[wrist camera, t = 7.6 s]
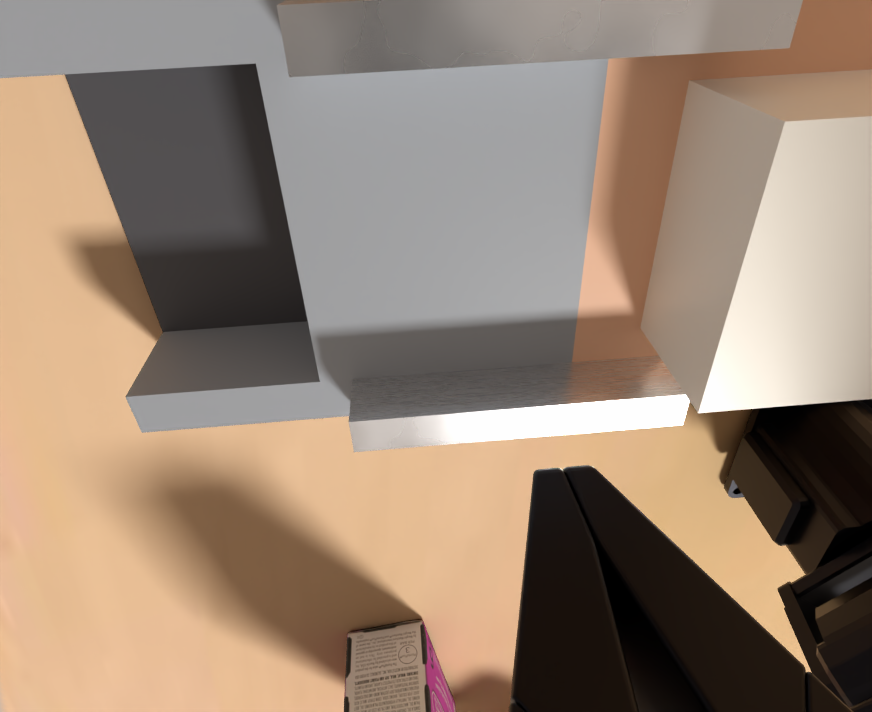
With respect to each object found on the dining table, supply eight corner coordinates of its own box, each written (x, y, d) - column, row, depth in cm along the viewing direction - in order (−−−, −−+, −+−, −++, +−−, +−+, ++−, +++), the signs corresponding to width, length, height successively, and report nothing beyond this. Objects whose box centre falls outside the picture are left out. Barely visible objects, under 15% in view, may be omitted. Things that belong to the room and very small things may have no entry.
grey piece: (858, -55, 16) (982, -56, 12) (740, 317, 23) (800, 379, 19) (38, -13, 15) (-59, -2, 12) (177, 360, 22) (141, 432, 19)
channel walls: (753, -28, 12) (809, -24, 11) (657, 384, 19) (683, 424, 17) (290, -3, 12) (276, 5, 10) (356, 408, 19) (354, 452, 17)
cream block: (972, 63, 14) (1152, 98, 11) (860, 310, 18) (965, 391, 15) (688, 80, 14) (784, 121, 10) (640, 327, 18) (697, 413, 14)
